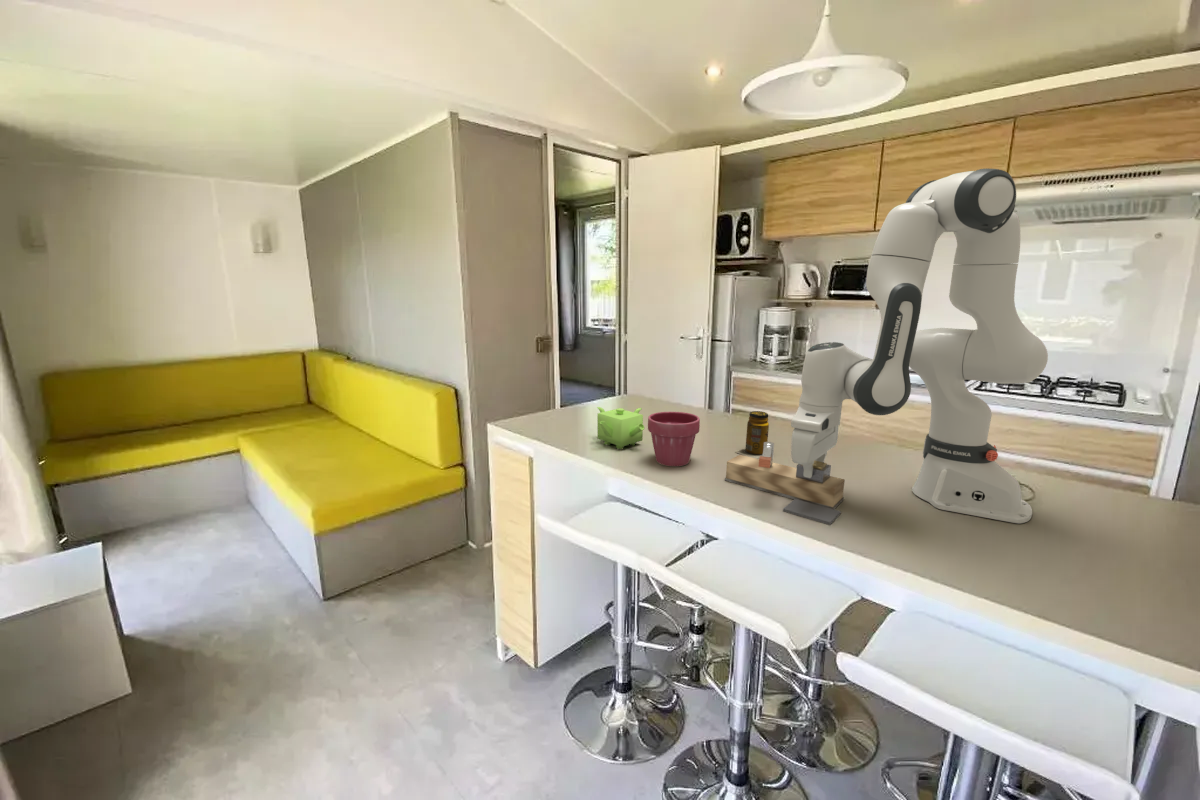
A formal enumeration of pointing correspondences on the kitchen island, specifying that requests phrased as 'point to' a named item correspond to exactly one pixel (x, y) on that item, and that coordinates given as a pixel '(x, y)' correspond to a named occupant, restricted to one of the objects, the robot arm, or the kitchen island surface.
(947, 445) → the robot arm
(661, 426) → the plant pot
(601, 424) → the kettle
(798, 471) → the grey and tan block
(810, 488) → the plane body
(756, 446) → the condiment
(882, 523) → the kitchen island surface
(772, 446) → the latch lever
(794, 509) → the mat
